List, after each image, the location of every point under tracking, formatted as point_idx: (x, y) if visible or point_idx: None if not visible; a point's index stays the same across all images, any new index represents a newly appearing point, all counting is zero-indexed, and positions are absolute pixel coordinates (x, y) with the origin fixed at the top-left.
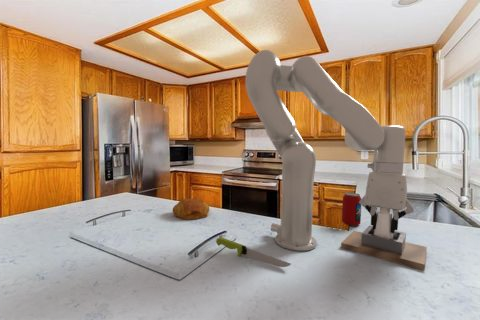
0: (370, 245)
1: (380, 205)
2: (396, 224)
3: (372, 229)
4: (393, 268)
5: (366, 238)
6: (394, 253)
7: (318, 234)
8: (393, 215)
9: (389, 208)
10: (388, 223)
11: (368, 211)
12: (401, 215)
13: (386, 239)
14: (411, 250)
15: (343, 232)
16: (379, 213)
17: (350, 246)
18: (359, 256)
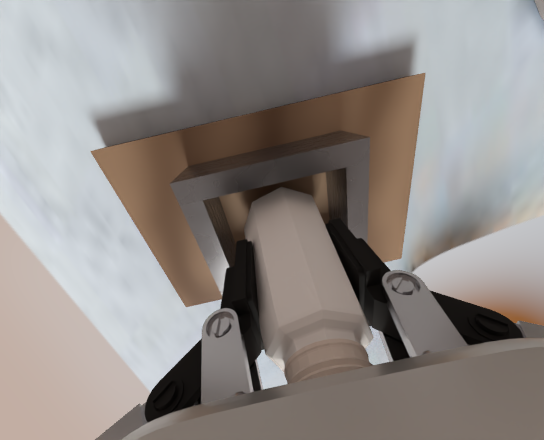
0: (306, 139)
1: (400, 396)
2: (227, 289)
3: None
4: (169, 48)
5: (335, 141)
6: (212, 161)
7: (515, 141)
8: (239, 335)
9: (265, 393)
10: (265, 266)
11: (440, 295)
12: (187, 367)
13: (242, 165)
14: (195, 245)
15: (424, 241)
16: (350, 308)
17: (376, 84)
18: (316, 46)
